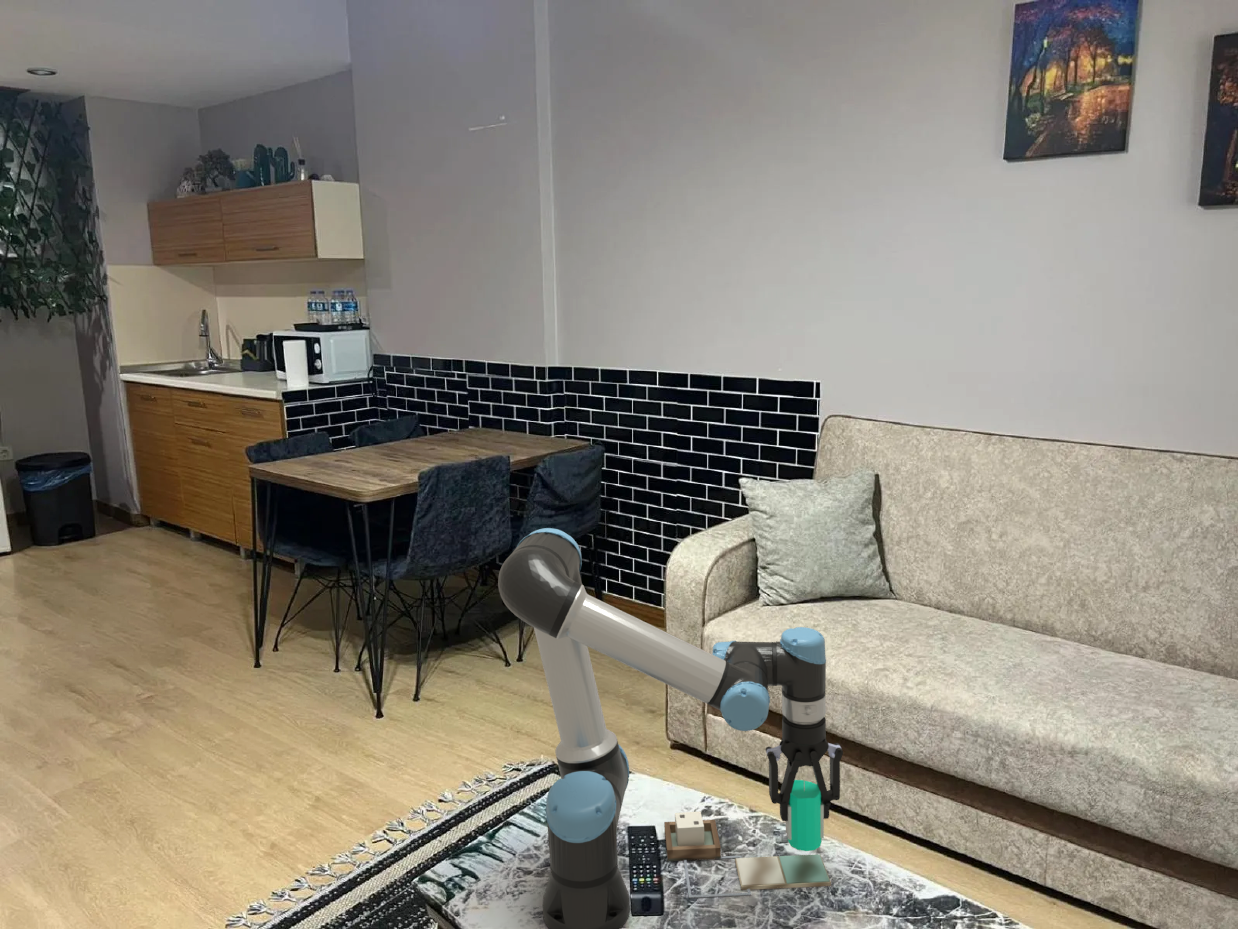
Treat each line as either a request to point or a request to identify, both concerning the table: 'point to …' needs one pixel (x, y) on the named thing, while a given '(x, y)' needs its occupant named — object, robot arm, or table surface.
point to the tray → (702, 852)
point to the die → (689, 829)
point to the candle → (805, 816)
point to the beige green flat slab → (782, 872)
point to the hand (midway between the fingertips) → (804, 834)
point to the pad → (712, 894)
